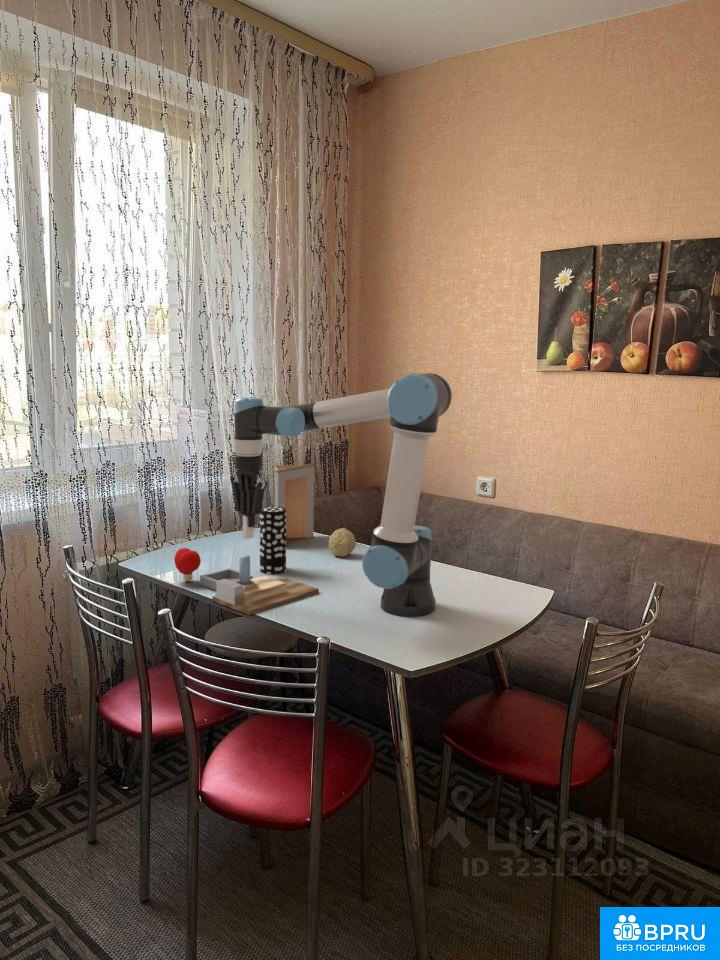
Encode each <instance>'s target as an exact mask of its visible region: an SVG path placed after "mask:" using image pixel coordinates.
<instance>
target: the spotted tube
mask: <svg viewBox="0 0 720 960" xmlns="http://www.w3.org/2000/svg"><path fill="white" fill-rule="evenodd" d="M286 571H287V546H286V508H283V507H275V506H263V507H261V513H260V514H259V572H261V573H262V574H265V575H279V574H283V573H285V572H286Z"/></svg>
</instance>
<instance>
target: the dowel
mask: <svg viewBox="0 0 720 960" xmlns="http://www.w3.org/2000/svg"><path fill="white" fill-rule="evenodd" d="M238 563H239V564H238V565H239V566H238V571H239V578H240V584H242V585H243V586H244V585H248V584H250V575H251V555H249V554H241V555H239V556H238Z"/></svg>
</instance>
